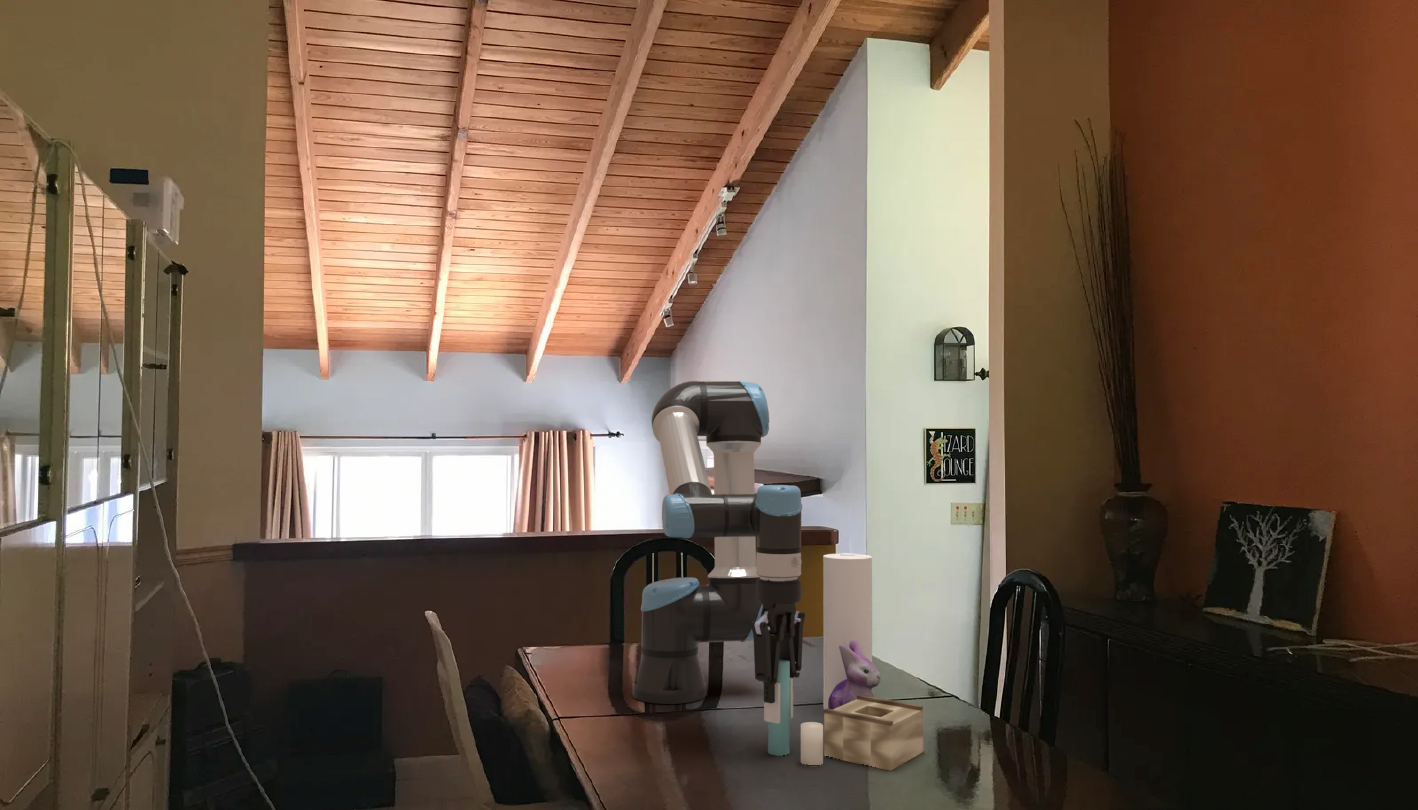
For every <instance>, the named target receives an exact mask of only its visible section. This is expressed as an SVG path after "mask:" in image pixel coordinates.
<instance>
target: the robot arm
mask: <svg viewBox="0 0 1418 810" xmlns="http://www.w3.org/2000/svg"><path fill="white" fill-rule="evenodd" d="M766 397H767V396H766V394H765V392H764V390H763V388H762V386H761V385H759V384H758V383H755V382H749V381H741V380H739V381H735V380H734V381H732V380H731V381H725V380H724V381H721V380H720V381H719V380H718V381H710V380H709V381H698V380H689V381H685V382H681V383H678V384H677V385H675V386H673V387H671V388H670V389H668V390H667V391H666V392H665V393H664V394H663V395H662V396H661V397H660V399H659V400H658V401H657V403H656V404H655V406H654V409H653V412H652V415H651V428H652V433H653V435H654V437H655V439H656V440H657V441H658V442H659V443H660V451H661V455H662V459H663V465H664V471H665V476H666V480H667V482H666V483H667V487H668V491H669V494H667V495H664V497H663V499H662V504H661V505H662V506H661V507H662V508H661V523H662V531H663V534H664V535H665V536H667V537H670V538H684V539H690V538H691V539H692V538H714V568H713V569H711V572H709V573H708V575H707V584H700V581H699V579H698V578H696V577H692V576H688V577H686V576H685V577H672V578H668V579H662V580H661V579H660V580H658V581H654V582H651V583H649V584H647V585H646V586H645V587H644V588H643V590H642V593H641V595H642V596H641V606H640V611H641V652H640V653H641V657H640V659H639V663H638V665H637V666H638V667H637V670H636V672H635V675H634V676H635V678H634V680H633V682H632V697H633V698H634V699H636V700H638V701H640V702H644V703H649V704H651V703H652V704H659V705H666V704H667V705H675V704H677V705H678V704H687V703H693V702H696V701H700V700H702V699H704V698H705V697H706V696H707V693H708V692H707V681H706V679H705V677H704V673H703V672H704V671H703V668H702V665H701V662H700V658H699V643H723V642H726V643H727V642H741V643H746V642H749V641H753V656H754V657H753V659H754V678H755V680H757V681H758V682H762V683H763V705H764V706H763V709H764V710H763V714H764V715H763V721H764V722H767V723H768V722H772V723H777V724H778V723H780V683H779V682H777V678H778V666H779V659H783V660H788V661H790V719H793V718H794V678H796V679H797V678H799V677H800V675H801V673H800V671H801V670H802V667H803V665H802V664H803V663H802V661H803V639H804V634H803V633H804V623H805V620H806V613H805V612H804V611H803V612H802V611H798V610H797V606H796V603H799V602H800V601H801V600H802V580H801V579H800V578H798V577H800V576H801V575H802V561H803V560H802V511H803V504H802V496H801V495H802V493H801V489H800V487H798V486H797V485H787V484H767V485H765V484H764V485H760V486H759V487H758V488H757V490H755V489H756V488H755V487H756V485H755V483H756V482H755V452H756V451H757V450H758V449H759V447H760V446H761V445H762V438H764V437H766V436H767V435H768V433H769V432H770V431H769V430H770V412H769V405H768V400H767V398H766ZM699 437H705V439H706V440H705V441H706V442H705V443H706V447H707V448H708V449H709V450H711V452H712V453H713V492H712V488H711V484H710V480H709V477H708V473H707V469H706V466H705V460H704V458H703V457H704V456H703V453H702V448H701V445H700V441H699Z"/></svg>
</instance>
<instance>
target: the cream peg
mask: <svg viewBox="0 0 1418 810" xmlns="http://www.w3.org/2000/svg"><path fill="white" fill-rule="evenodd" d="M823 724H824V723H820V722H815V721H807V722H806V721H805V722H802V723H801V724H800V764H801V763H802V764H801V765H803V764H808V765H820V766H822V765H823V763H824V725H823ZM821 764H822V765H821Z"/></svg>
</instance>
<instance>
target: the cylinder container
mask: <svg viewBox="0 0 1418 810" xmlns="http://www.w3.org/2000/svg"><path fill="white" fill-rule="evenodd" d="M822 559H823V563H822V566H823V567H822V569H823V571H822V572H823V580H822V581H823V582H822V583H823V584H822V585H823V592H822V593H823V595H822V597H823V603H822V605H823V611H822V612H823V614H822V615H823V617H822V619H823V624H822V626H823V633H822V635H823V638H822V639H823V644H822V645H823V652H822V653H823V656H822V657H823V658H822V659H823V660H822V661H823V670H822V671H823V672H822V673H823V679H822V681H823V693H822V694H823V699H822V700H823V710H824V709H828V700H829V697H830V695H831V693H832V691H833V689H834V688H835V686H836V685H837V684H839V683H840V682H841V681H843V680H845V679H847V676H846V673H845V669H844V665H843V661H842V657H841V653H840V649H839V646H840V645H846V646H847V647H849V643H850V641H851V640H854V641H856V642H857V643H858V644H859V646H860V648H861V649H862V651H863V653H864V655H865V656H866V657H867V658H868V659H869V660H870V661H871V662H872V663H873V556H872V555H868V554H862V553H861V554H859V553H852V552H841V553H828V554H824V555H823V558H822Z"/></svg>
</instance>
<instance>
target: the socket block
mask: <svg viewBox="0 0 1418 810" xmlns="http://www.w3.org/2000/svg"><path fill="white" fill-rule="evenodd" d="M823 711H824V712H823V714H824V715H823V717H824V718H823V722H824V723H823V724H824V725H823V757H826V756H829V757H828V758H830V757H833V758H832V759H835V758H836V759H835V760H839V759H840V761H844V762H849V763H853V764H858V765H862V764H864V765H863V766H866V765H868V767H871V766H872V767H871V768H875V767H876V768H875V769H880V770H885V771H889V772H891V771H893V770H895V769H896V768H898V767H901V766H902V765H904V764H905V763H907V762H908V761H910V760H912V759H913V758H915V757H918V756H919V755H920V754H922V753H924V706H923V705H918V704H914V703H909V702H908V703H907V702H902V701H895V700H890V699H887V698H886V699H884V698H880V697H874V696H873V697H869V696H863V695H857V699H856V700H854V701H852V702H849V703H847V704H845V705H842V706H840V707H838V708H835V709H833V710H832V709H824V708H823Z"/></svg>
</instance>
